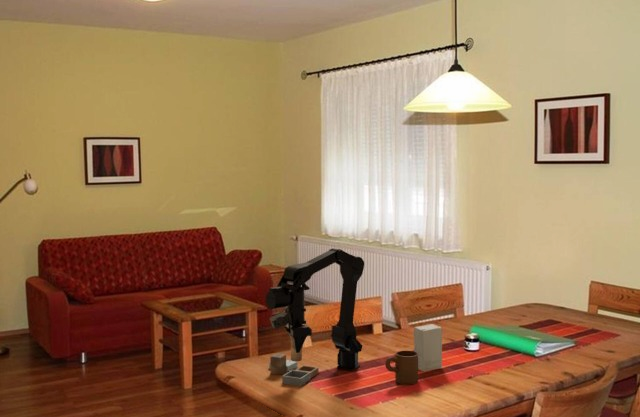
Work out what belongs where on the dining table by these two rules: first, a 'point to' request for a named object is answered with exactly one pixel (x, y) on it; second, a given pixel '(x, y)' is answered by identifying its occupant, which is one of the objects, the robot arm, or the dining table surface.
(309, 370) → the socket block
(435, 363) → the skincare box
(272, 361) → the block
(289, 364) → the pale grey box
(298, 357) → the dowel
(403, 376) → the mug
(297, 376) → the tray
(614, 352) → the dining table surface
